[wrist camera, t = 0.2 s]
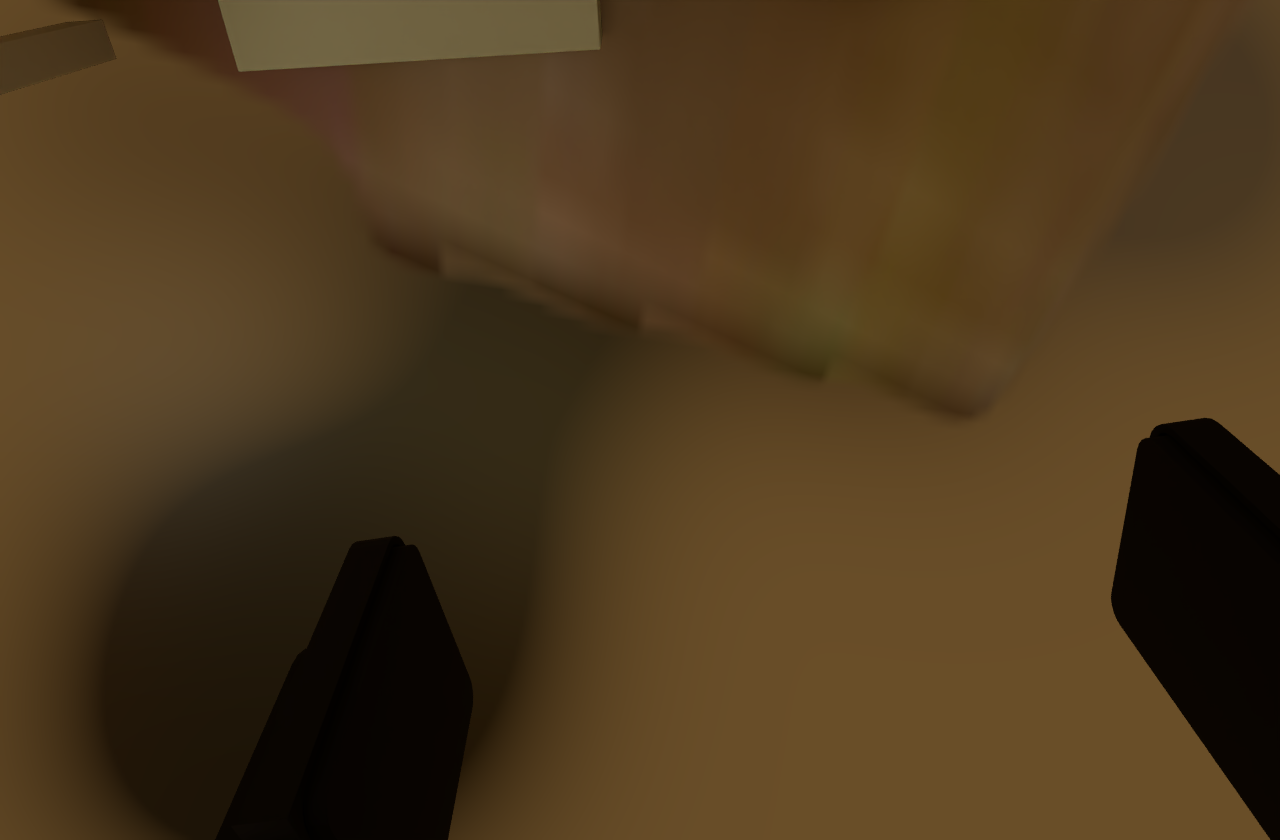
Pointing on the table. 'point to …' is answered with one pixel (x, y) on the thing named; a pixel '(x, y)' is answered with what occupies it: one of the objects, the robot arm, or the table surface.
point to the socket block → (332, 34)
